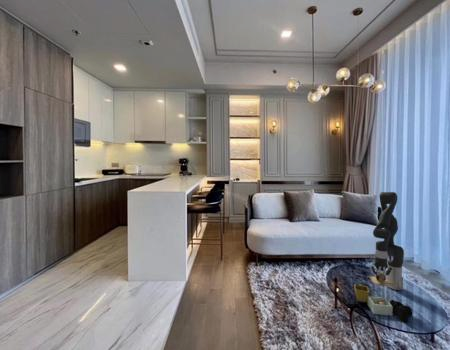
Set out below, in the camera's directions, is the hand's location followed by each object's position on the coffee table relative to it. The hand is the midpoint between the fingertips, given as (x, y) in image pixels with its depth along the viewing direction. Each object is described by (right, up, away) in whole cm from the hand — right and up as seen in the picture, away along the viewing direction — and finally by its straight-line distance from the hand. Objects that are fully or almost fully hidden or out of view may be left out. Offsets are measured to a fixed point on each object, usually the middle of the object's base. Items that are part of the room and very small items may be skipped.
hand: (380, 280), depth 179 cm
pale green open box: (-9, -15, -12) cm, 21 cm away
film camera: (+2, -15, -19) cm, 25 cm away
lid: (0, -2, 0) cm, 2 cm away
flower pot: (-14, -15, 0) cm, 20 cm away
